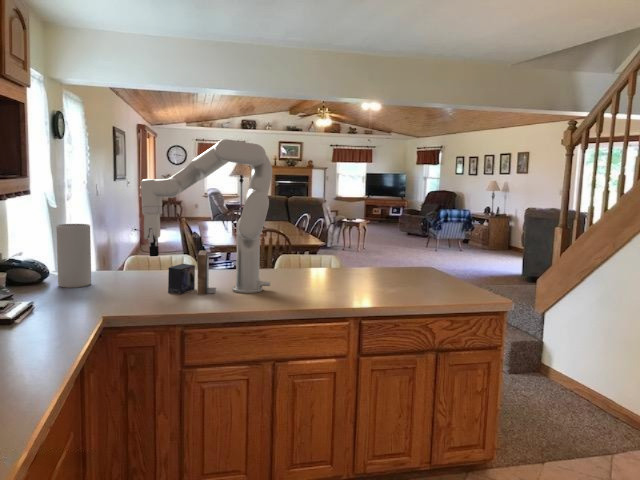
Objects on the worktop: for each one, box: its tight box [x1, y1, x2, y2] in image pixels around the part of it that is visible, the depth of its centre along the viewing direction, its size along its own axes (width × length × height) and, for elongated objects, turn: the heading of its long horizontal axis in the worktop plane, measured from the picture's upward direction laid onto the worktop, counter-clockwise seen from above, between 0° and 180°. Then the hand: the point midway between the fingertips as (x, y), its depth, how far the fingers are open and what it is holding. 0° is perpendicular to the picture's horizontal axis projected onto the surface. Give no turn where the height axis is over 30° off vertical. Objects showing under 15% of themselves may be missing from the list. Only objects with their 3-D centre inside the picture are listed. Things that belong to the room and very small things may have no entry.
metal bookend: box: [205, 254, 217, 295], centre depth 207 cm, size 4×11×14 cm, turn 9°
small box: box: [167, 263, 196, 295], centre depth 206 cm, size 11×6×10 cm, turn 163°
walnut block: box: [197, 249, 208, 296], centre depth 207 cm, size 3×12×16 cm, turn 9°
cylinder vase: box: [55, 223, 92, 289], centre depth 209 cm, size 12×12×25 cm
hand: (154, 255), depth 203 cm, fingers closed
